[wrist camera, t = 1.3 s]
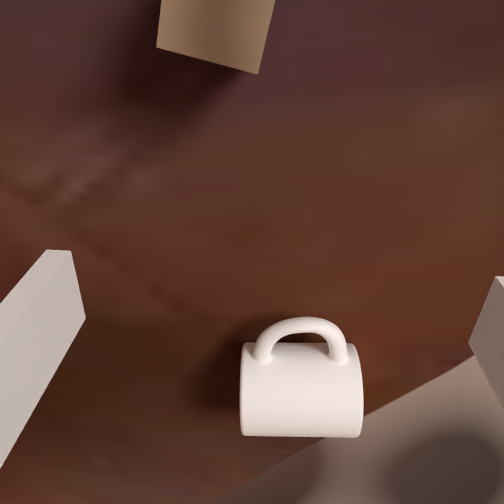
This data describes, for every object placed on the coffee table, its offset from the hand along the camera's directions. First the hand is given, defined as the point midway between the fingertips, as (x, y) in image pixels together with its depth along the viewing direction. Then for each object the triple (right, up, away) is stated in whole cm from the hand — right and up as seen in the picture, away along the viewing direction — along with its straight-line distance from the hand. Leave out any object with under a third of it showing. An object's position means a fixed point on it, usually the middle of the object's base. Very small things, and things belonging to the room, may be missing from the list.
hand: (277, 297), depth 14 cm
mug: (+3, -7, +28) cm, 29 cm away
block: (-2, +17, +13) cm, 21 cm away
